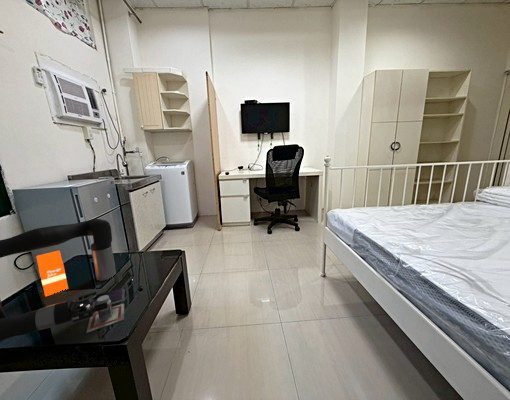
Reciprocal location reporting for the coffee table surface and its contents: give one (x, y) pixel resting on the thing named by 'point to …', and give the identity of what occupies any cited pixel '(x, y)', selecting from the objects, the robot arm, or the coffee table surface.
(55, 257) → the orange juice
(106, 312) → the pill bottle
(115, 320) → the marked board
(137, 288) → the coffee table surface
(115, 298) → the ink pad
